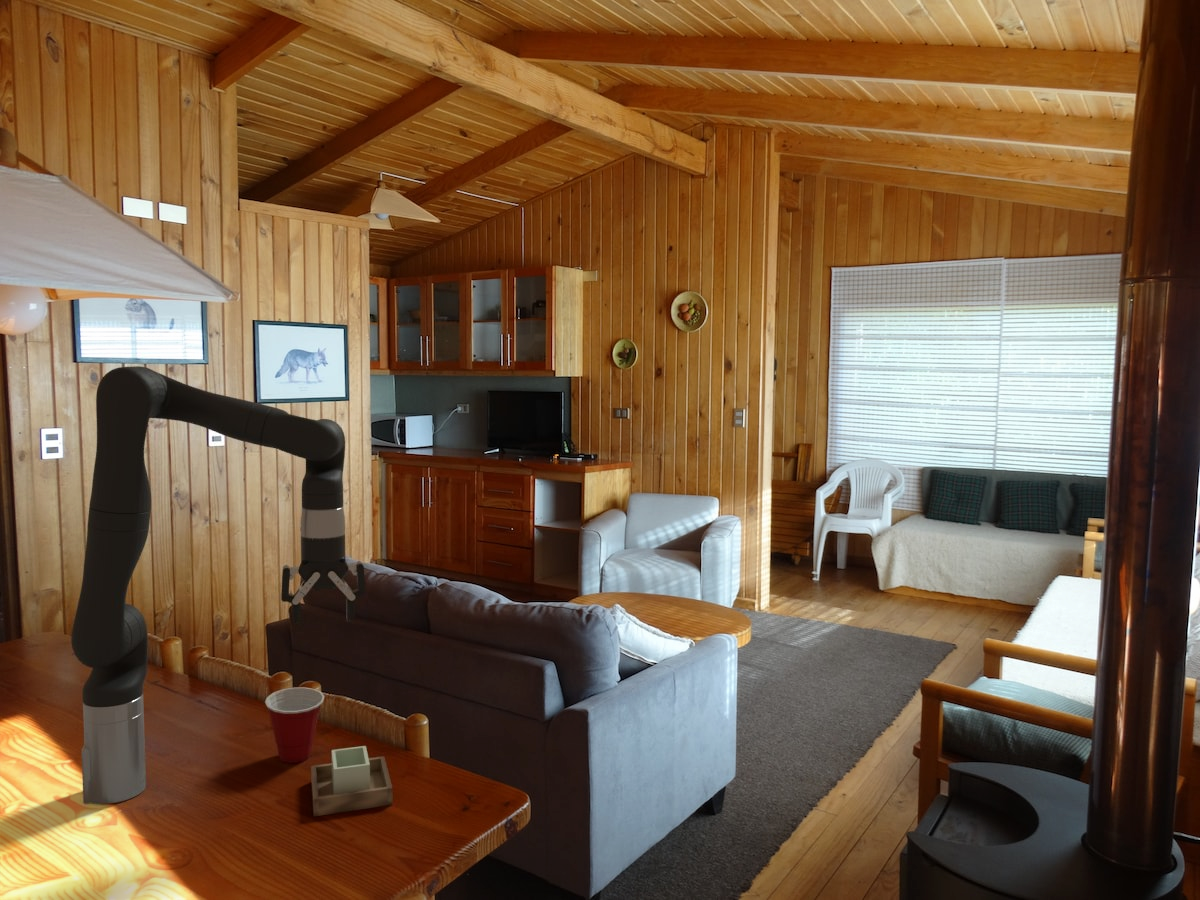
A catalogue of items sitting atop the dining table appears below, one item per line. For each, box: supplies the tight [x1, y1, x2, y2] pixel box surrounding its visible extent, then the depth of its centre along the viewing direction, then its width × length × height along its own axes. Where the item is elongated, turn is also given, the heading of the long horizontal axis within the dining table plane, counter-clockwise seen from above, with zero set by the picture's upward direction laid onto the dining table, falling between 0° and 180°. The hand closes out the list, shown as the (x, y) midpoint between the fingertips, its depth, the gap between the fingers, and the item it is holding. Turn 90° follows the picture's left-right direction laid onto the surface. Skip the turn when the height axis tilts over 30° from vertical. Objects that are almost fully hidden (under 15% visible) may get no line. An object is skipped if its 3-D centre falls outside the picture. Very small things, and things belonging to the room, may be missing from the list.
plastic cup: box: [264, 686, 325, 764], centre depth 168 cm, size 11×11×12 cm
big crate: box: [310, 755, 393, 817], centre depth 155 cm, size 13×13×3 cm
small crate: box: [331, 745, 370, 794], centre depth 154 cm, size 6×8×6 cm
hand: (324, 621), depth 155 cm, fingers open, 8 cm apart
